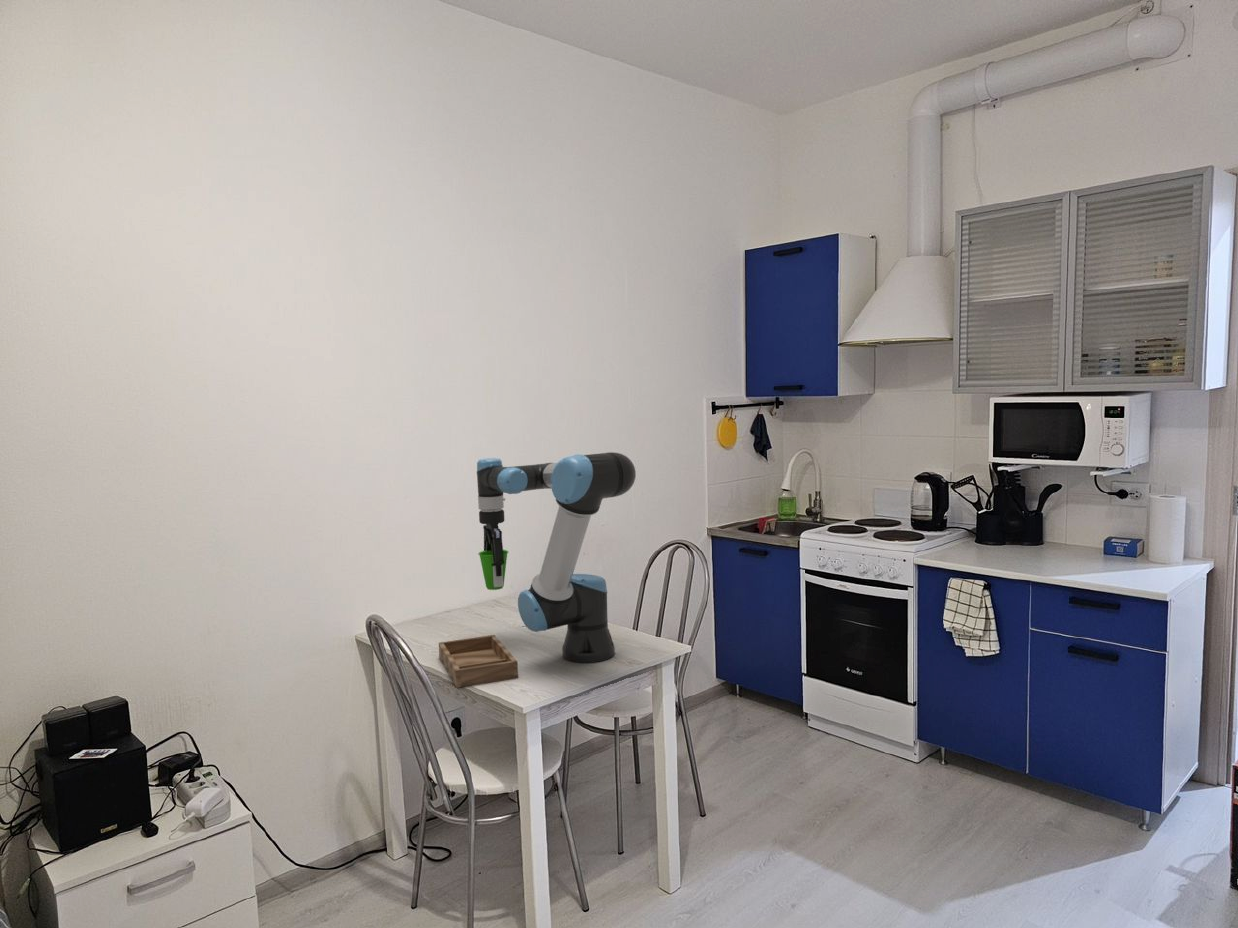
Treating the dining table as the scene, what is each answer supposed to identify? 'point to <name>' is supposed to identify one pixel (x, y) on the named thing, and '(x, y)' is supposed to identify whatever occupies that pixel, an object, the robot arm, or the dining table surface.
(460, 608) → the dining table surface
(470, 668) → the crate
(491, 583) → the cup
